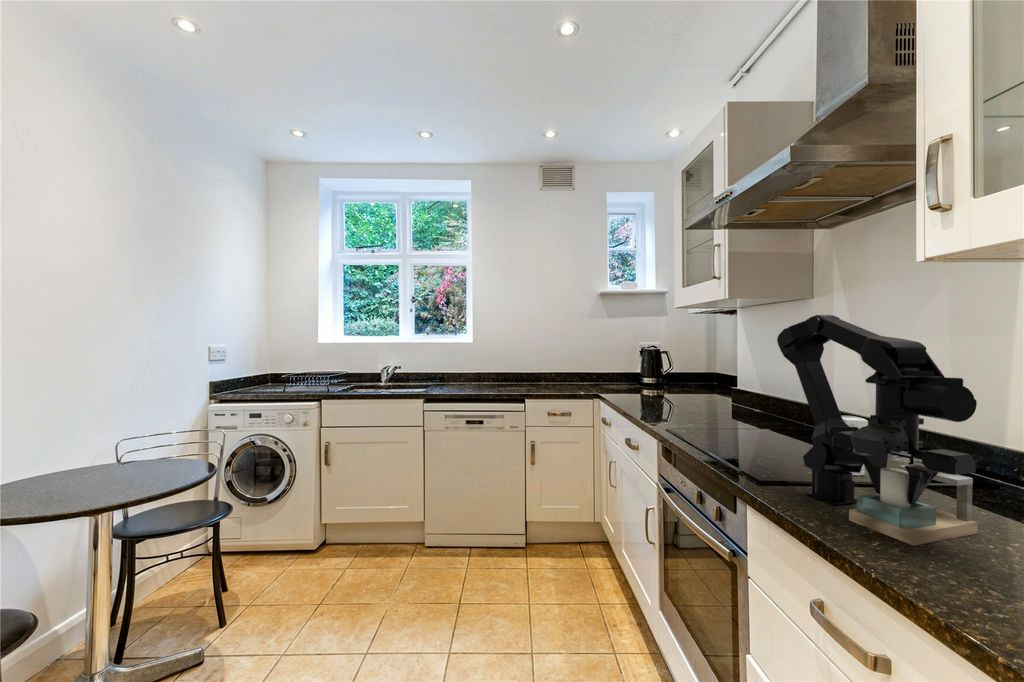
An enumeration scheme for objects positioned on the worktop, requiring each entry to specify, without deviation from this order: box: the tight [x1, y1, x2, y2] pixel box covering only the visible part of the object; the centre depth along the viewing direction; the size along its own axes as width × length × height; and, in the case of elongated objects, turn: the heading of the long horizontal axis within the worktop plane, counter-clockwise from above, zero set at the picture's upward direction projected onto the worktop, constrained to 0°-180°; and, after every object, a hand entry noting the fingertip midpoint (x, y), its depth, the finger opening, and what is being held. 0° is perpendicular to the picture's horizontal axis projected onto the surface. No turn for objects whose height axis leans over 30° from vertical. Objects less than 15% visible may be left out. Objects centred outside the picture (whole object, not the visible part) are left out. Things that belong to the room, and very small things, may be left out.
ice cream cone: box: [887, 451, 911, 469], centre depth 92 cm, size 5×5×15 cm
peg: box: [880, 468, 911, 509], centre depth 75 cm, size 4×4×8 cm
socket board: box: [848, 463, 979, 546], centre depth 76 cm, size 10×16×10 cm, turn 107°
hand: (895, 498), depth 75 cm, fingers open, 5 cm apart
